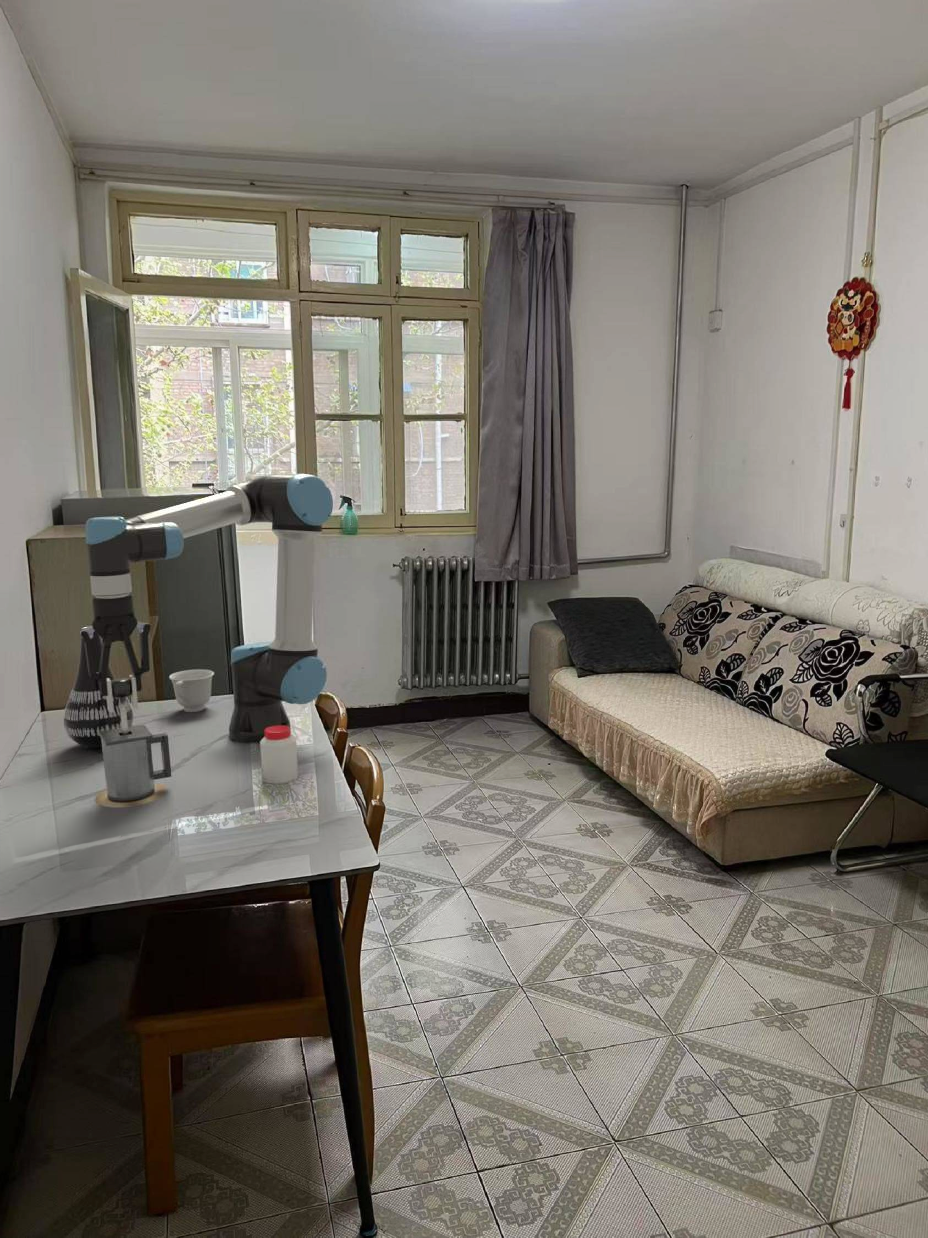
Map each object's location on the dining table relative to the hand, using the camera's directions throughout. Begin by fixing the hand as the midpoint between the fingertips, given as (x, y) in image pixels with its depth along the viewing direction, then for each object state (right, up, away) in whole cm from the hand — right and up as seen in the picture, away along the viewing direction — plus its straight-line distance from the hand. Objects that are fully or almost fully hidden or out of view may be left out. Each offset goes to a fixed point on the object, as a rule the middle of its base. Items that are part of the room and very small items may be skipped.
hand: (123, 708), depth 187 cm
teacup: (-6, -7, +68) cm, 68 cm away
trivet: (+1, -19, +4) cm, 19 cm away
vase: (-20, -13, +39) cm, 46 cm away
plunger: (0, -13, +2) cm, 14 cm away
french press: (+2, -18, +4) cm, 18 cm away
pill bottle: (+29, -16, +13) cm, 36 cm away
